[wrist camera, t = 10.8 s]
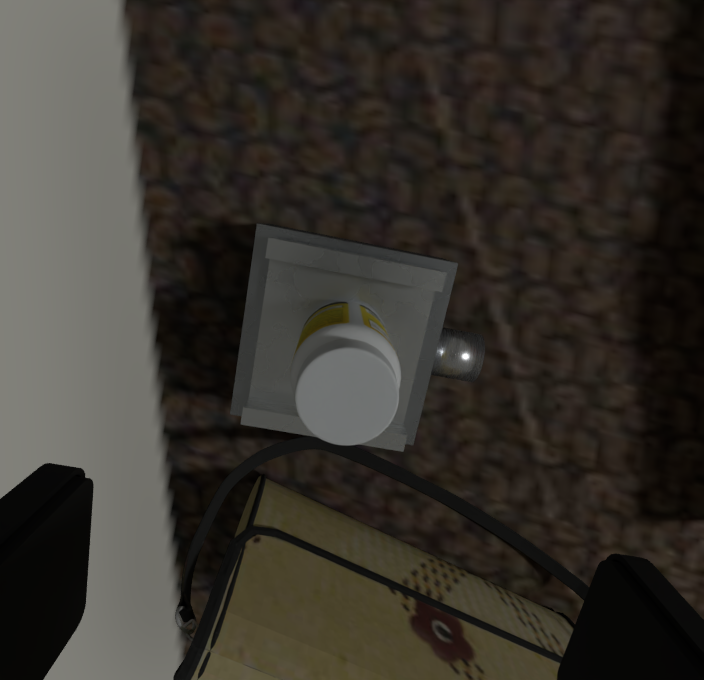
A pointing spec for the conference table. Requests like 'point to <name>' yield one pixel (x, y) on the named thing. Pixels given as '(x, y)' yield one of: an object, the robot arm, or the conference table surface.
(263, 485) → the beige handbag
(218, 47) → the conference table surface
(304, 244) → the grey drawer with knob
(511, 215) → the conference table surface
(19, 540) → the robot arm
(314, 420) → the supplement bottle
